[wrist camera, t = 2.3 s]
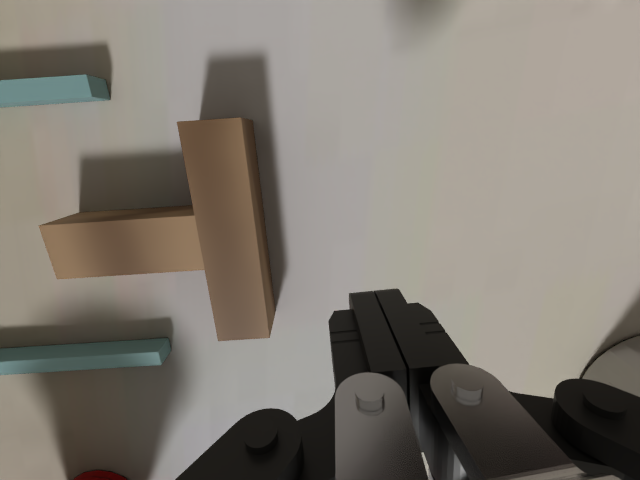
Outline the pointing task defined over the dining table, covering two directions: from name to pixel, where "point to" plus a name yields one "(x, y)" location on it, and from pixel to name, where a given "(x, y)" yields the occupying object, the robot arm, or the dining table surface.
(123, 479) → the plastic cup
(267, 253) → the t block
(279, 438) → the robot arm
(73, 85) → the dock
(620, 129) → the dining table surface
